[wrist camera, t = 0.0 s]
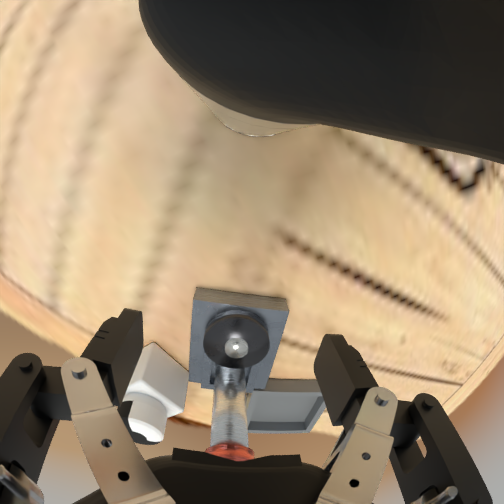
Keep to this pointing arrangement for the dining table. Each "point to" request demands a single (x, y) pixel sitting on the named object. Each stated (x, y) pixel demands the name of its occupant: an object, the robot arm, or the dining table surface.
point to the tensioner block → (235, 335)
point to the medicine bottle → (153, 395)
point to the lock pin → (229, 415)
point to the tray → (284, 406)
